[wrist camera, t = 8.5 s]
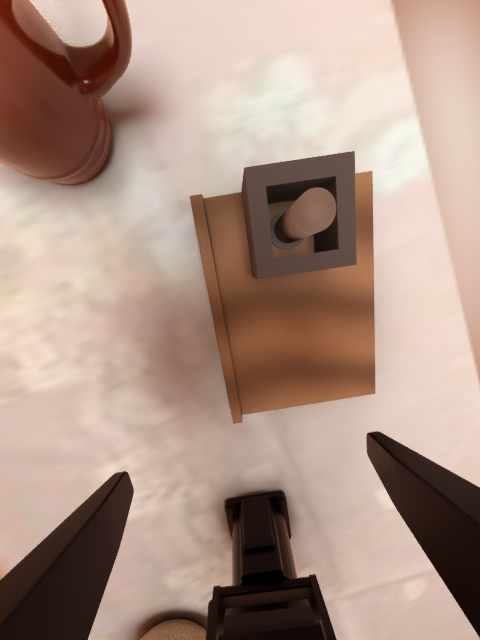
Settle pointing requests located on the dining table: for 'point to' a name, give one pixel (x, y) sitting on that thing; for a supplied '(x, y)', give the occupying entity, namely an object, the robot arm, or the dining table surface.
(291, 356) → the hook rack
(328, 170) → the gray square frame
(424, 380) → the dining table surface
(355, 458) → the dining table surface
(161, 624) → the planter
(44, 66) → the mug
